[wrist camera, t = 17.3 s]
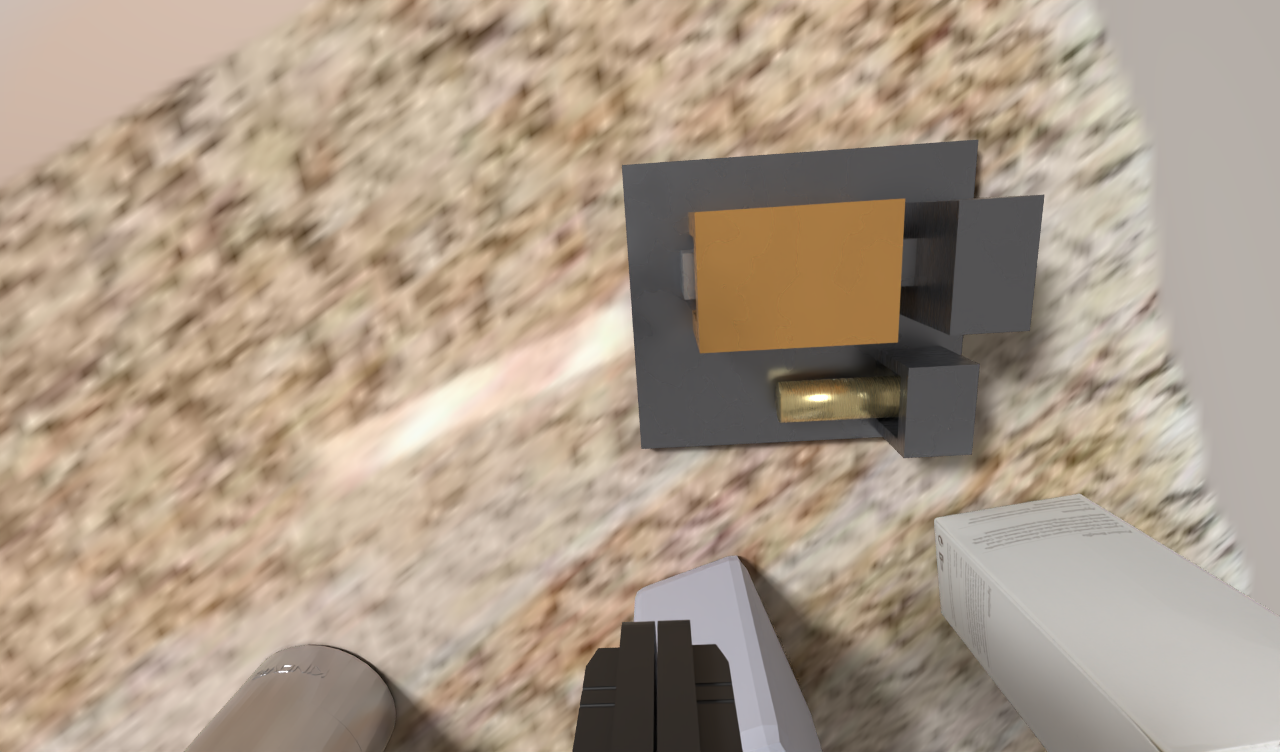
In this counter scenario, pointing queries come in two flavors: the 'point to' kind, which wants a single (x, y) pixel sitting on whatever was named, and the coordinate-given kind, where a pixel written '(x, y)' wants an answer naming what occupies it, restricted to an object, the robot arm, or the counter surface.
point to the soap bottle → (738, 650)
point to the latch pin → (838, 399)
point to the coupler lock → (797, 275)
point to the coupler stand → (746, 380)
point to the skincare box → (1108, 632)
